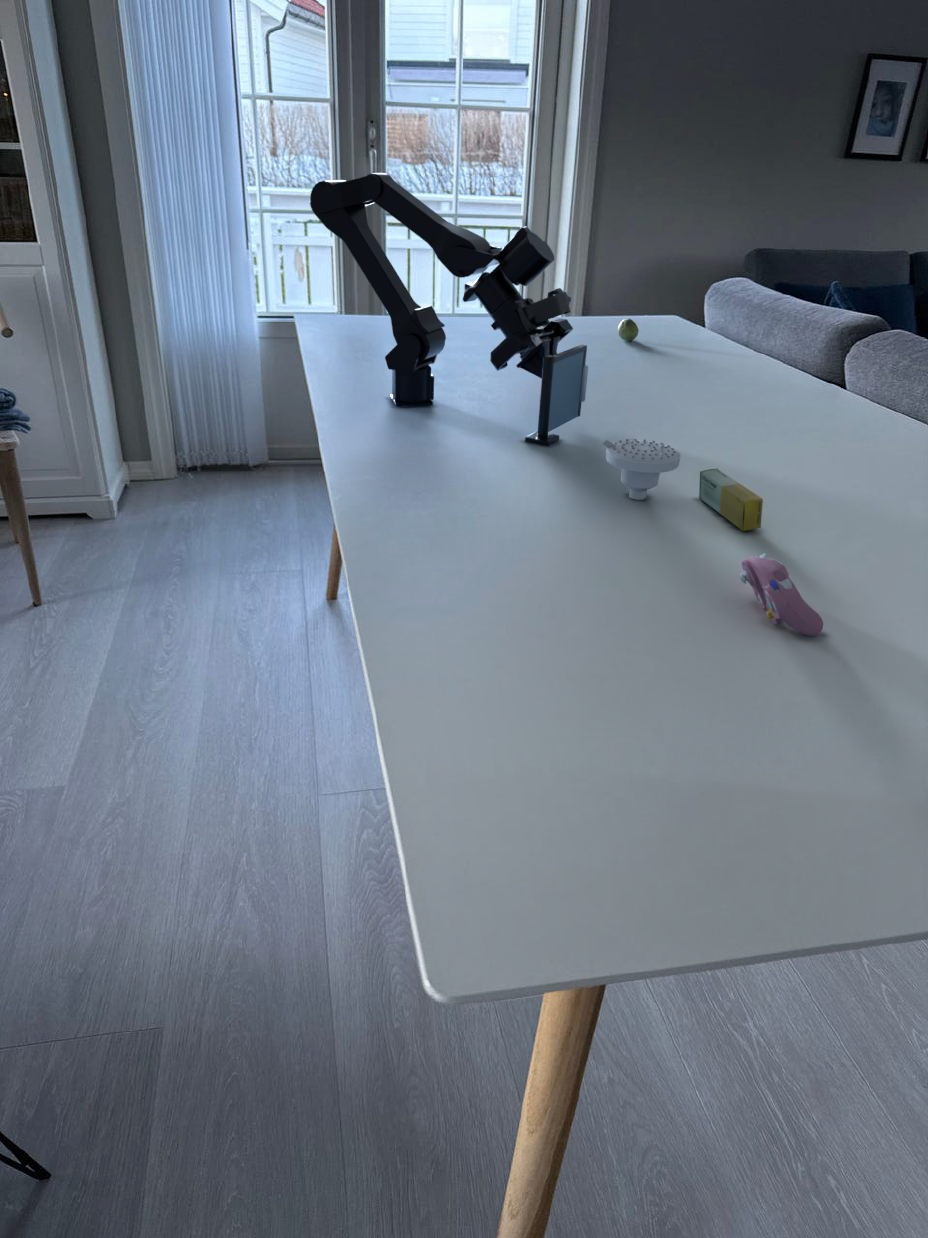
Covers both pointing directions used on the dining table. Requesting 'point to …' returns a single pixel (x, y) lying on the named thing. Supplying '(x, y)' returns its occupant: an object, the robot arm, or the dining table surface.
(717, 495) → the medication box
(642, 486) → the showerhead
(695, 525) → the dining table surface
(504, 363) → the robot arm
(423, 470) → the dining table surface
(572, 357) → the shower door
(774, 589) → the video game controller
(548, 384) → the hinge post
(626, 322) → the lime
